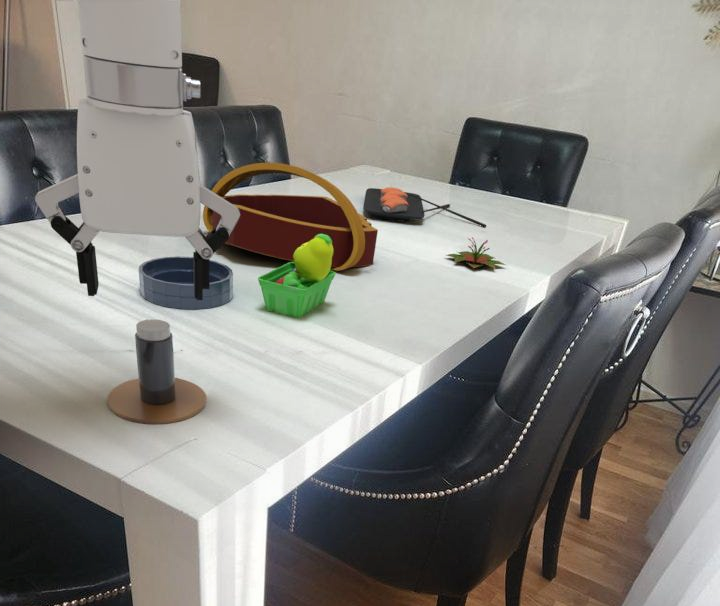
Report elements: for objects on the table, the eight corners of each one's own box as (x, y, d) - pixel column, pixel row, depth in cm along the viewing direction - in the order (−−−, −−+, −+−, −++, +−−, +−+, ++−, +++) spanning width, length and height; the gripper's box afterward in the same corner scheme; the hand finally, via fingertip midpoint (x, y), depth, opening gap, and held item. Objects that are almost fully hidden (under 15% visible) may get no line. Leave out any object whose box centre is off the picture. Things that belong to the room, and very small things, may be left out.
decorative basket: (396, 273, 124) (413, 189, 118) (306, 279, 101) (321, 175, 94) (260, 234, 138) (269, 157, 132) (155, 232, 115) (158, 139, 108)
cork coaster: (104, 425, 64) (104, 421, 63) (110, 379, 71) (110, 376, 71) (208, 422, 66) (208, 419, 66) (203, 379, 74) (203, 376, 74)
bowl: (139, 312, 88) (137, 283, 86) (142, 281, 98) (140, 254, 96) (236, 314, 92) (236, 286, 89) (228, 284, 102) (228, 258, 100)
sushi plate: (365, 194, 173) (367, 179, 171) (476, 209, 174) (479, 193, 172) (361, 218, 149) (363, 201, 147) (490, 235, 150) (493, 218, 148)
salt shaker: (139, 405, 67) (133, 332, 62) (140, 389, 69) (134, 318, 65) (175, 405, 68) (172, 332, 63) (175, 389, 70) (171, 318, 66)
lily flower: (472, 274, 122) (477, 250, 119) (432, 256, 129) (436, 232, 127) (517, 270, 128) (523, 246, 125) (476, 252, 135) (481, 230, 133)
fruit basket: (290, 292, 102) (294, 217, 95) (341, 305, 99) (349, 229, 93) (254, 313, 93) (256, 232, 86) (310, 328, 90) (316, 245, 84)
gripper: (238, 96, 58) (234, 284, 68) (25, 70, 53) (54, 276, 63) (246, 106, 52) (241, 311, 62) (9, 78, 47) (43, 304, 57)
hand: (147, 293), depth 62 cm, fingers open, 9 cm apart
